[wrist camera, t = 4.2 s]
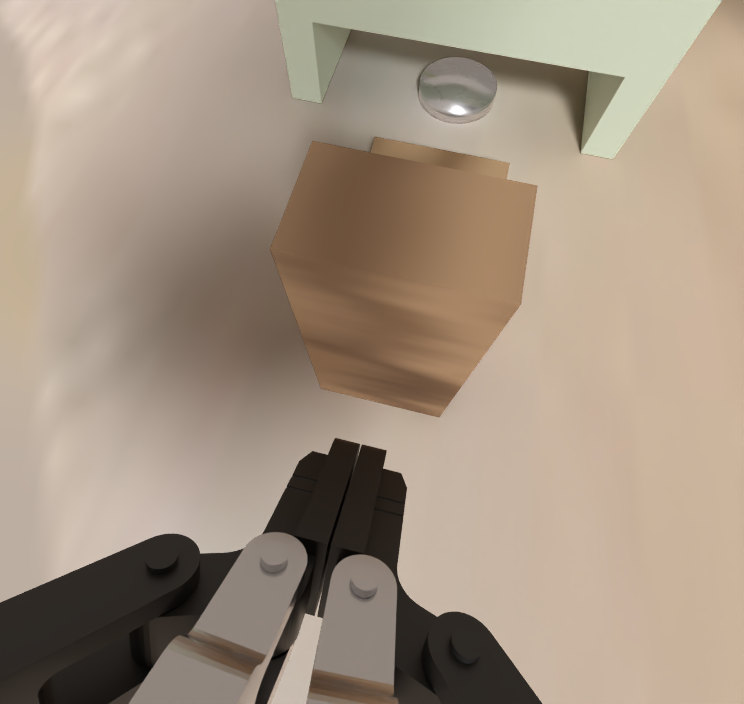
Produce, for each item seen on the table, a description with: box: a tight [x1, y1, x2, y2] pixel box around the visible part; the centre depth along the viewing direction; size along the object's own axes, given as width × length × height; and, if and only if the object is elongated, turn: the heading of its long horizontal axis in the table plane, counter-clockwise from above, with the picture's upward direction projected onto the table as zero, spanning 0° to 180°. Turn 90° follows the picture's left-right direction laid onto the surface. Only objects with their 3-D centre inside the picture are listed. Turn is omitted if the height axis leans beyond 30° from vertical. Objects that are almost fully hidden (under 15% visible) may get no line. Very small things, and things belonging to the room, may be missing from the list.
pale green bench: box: [275, 0, 722, 159], centre depth 25 cm, size 21×8×9 cm, turn 76°
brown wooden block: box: [270, 137, 537, 417], centre depth 18 cm, size 8×15×12 cm, turn 166°
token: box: [419, 57, 497, 124], centre depth 29 cm, size 5×5×1 cm
